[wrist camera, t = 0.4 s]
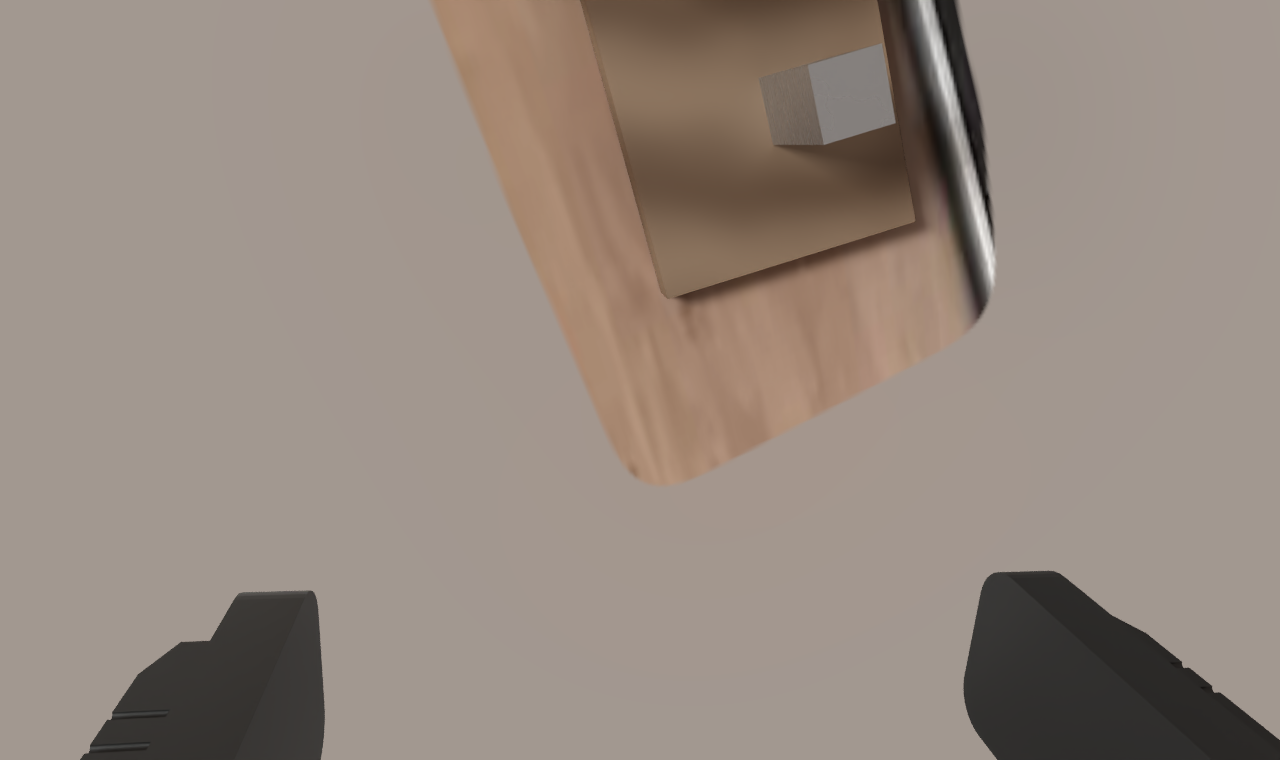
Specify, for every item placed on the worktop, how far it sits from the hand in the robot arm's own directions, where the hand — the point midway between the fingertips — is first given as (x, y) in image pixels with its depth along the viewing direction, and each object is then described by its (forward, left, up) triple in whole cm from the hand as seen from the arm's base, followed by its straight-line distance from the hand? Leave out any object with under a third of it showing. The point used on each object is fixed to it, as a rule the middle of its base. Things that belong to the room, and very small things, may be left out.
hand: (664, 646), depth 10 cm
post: (-10, +7, -25) cm, 27 cm away
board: (-13, +3, -26) cm, 29 cm away
